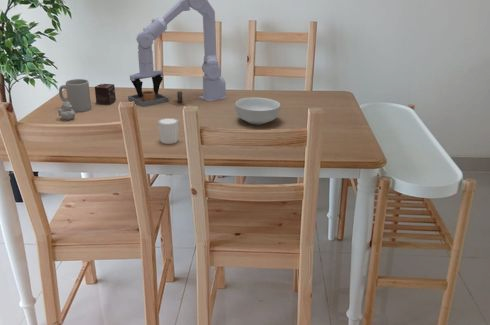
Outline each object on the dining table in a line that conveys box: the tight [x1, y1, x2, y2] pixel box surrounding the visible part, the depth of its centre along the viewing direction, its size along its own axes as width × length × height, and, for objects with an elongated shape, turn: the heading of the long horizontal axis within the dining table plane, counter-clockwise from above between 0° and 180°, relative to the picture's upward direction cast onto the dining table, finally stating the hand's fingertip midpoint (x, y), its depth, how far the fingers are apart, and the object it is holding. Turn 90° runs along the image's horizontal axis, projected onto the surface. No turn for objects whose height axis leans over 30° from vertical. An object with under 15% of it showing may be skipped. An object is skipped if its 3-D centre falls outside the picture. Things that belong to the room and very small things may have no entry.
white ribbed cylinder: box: [157, 117, 180, 145], centre depth 158 cm, size 7×7×7 cm
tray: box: [127, 93, 170, 108], centre depth 199 cm, size 12×12×2 cm
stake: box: [167, 91, 194, 107], centre depth 197 cm, size 8×8×5 cm
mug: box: [58, 78, 92, 113], centre depth 187 cm, size 12×8×11 cm
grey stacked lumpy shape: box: [57, 99, 76, 121], centre depth 176 cm, size 5×7×8 cm
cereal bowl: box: [234, 96, 281, 125], centre depth 179 cm, size 17×17×7 cm
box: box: [94, 83, 117, 106], centre depth 196 cm, size 6×6×7 cm
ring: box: [141, 90, 155, 102], centre depth 199 cm, size 8×5×4 cm
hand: (148, 95), depth 198 cm, fingers open, 7 cm apart
